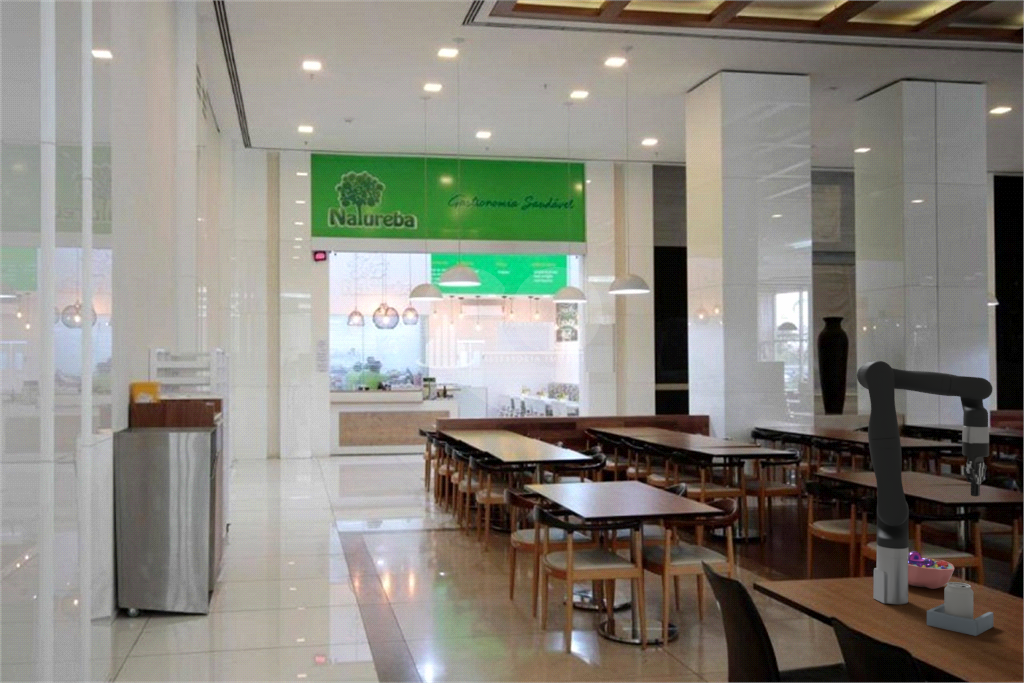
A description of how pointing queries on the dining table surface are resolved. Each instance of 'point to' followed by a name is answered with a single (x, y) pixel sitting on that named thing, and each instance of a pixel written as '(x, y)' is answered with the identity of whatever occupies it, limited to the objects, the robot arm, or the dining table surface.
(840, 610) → the dining table surface
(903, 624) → the dining table surface
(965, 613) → the can
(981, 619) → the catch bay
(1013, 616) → the dining table surface
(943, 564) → the cell model
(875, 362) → the robot arm
